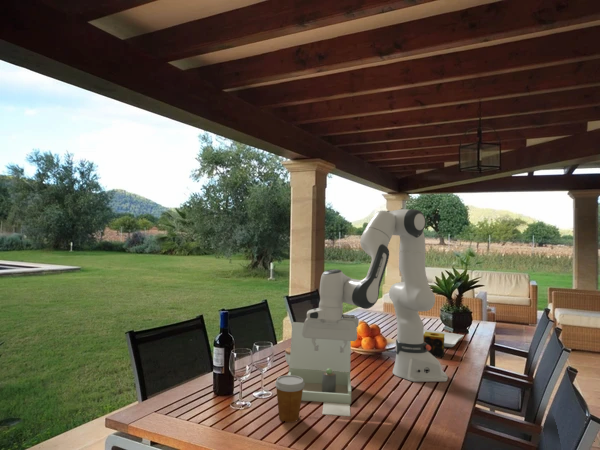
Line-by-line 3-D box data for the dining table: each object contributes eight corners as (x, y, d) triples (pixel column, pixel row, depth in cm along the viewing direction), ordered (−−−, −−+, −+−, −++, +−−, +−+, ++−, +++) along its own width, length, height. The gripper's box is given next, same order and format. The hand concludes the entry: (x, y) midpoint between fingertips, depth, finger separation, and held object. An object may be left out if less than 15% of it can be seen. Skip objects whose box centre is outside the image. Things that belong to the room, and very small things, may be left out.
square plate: (464, 340, 235) (464, 334, 235) (454, 351, 212) (454, 343, 212) (418, 333, 249) (418, 327, 249) (404, 342, 226) (404, 335, 226)
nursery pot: (335, 391, 148) (336, 366, 149) (335, 396, 143) (336, 371, 144) (322, 390, 149) (322, 365, 149) (321, 395, 144) (322, 370, 144)
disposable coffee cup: (281, 409, 133) (282, 372, 133) (308, 414, 129) (309, 377, 129) (268, 421, 124) (269, 382, 124) (296, 427, 120) (297, 387, 121)
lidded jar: (306, 372, 170) (307, 350, 170) (282, 370, 172) (282, 348, 173) (310, 364, 181) (311, 344, 181) (287, 362, 183) (288, 342, 183)
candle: (422, 355, 201) (422, 335, 202) (424, 350, 211) (424, 331, 211) (443, 357, 198) (443, 337, 198) (444, 352, 207) (444, 333, 207)
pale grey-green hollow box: (349, 380, 162) (350, 324, 162) (351, 405, 137) (352, 339, 138) (291, 376, 164) (292, 321, 165) (282, 400, 140) (284, 335, 141)
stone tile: (349, 406, 136) (349, 404, 136) (350, 418, 127) (350, 415, 127) (323, 404, 137) (323, 402, 137) (322, 416, 128) (322, 413, 128)
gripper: (358, 313, 149) (357, 351, 148) (304, 310, 151) (302, 347, 151) (359, 316, 143) (357, 355, 142) (302, 313, 145) (301, 351, 144)
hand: (329, 351), depth 146 cm, fingers open, 8 cm apart
